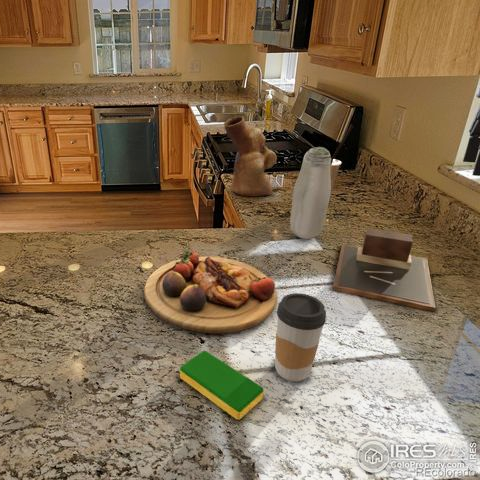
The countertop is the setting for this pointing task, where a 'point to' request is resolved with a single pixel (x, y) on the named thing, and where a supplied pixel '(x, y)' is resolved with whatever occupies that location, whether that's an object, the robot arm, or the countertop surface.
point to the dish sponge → (221, 384)
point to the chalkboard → (385, 280)
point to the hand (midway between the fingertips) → (473, 168)
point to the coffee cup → (298, 335)
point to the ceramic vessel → (249, 158)
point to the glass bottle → (311, 194)
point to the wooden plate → (210, 294)
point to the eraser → (386, 248)
